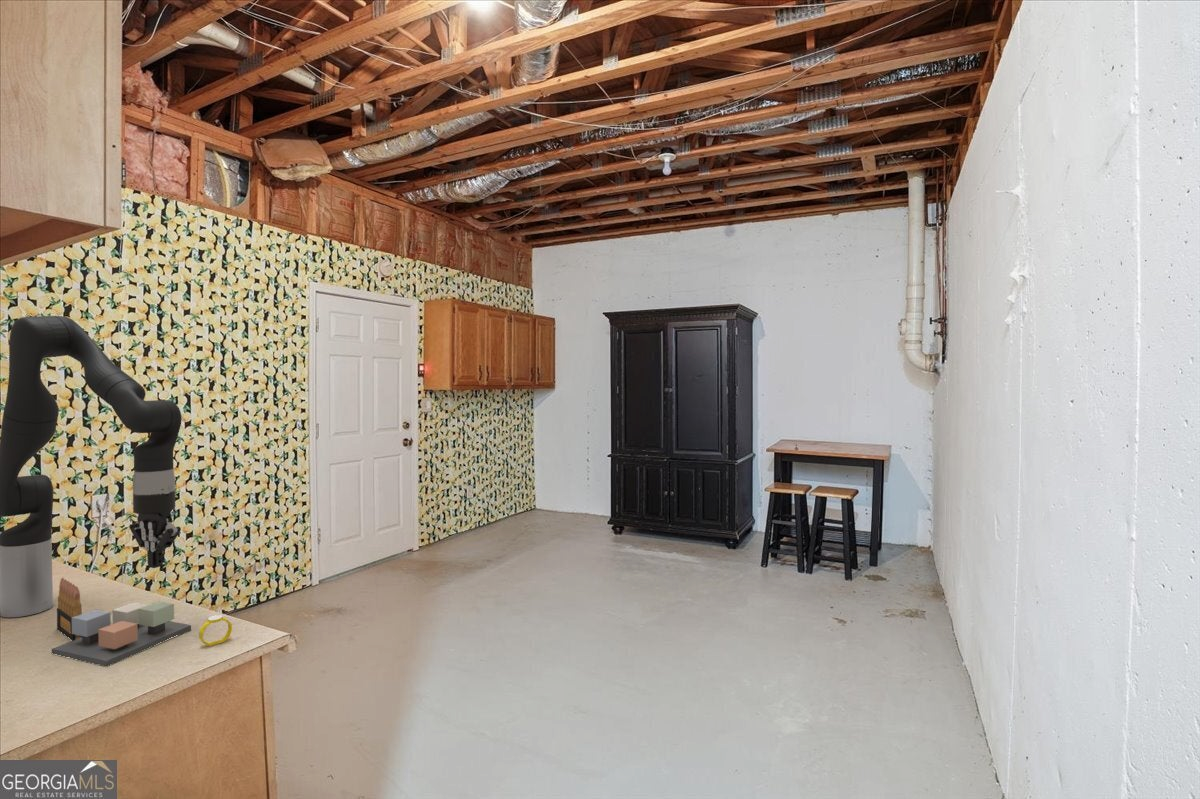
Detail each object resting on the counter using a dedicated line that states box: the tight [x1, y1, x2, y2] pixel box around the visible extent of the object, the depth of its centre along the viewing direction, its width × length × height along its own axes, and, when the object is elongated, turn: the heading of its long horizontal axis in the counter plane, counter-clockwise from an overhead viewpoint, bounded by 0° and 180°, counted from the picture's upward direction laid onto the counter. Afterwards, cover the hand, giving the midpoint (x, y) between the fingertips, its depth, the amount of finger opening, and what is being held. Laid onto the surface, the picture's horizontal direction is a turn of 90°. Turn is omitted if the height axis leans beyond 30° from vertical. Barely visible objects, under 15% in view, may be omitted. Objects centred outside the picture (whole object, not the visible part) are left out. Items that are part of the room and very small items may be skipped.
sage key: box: [138, 600, 175, 627], centre depth 132 cm, size 5×5×4 cm
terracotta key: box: [98, 621, 138, 649], centre depth 125 cm, size 5×5×4 cm
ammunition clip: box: [56, 577, 83, 641], centre depth 133 cm, size 11×2×12 cm, turn 57°
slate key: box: [72, 609, 112, 637], centre depth 127 cm, size 5×5×4 cm
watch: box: [198, 614, 233, 647], centre depth 130 cm, size 6×3×6 cm, turn 139°
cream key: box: [111, 602, 148, 624], centre depth 135 cm, size 5×5×4 cm
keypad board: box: [51, 620, 192, 667], centre depth 130 cm, size 16×18×4 cm
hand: (155, 566), depth 132 cm, fingers closed
